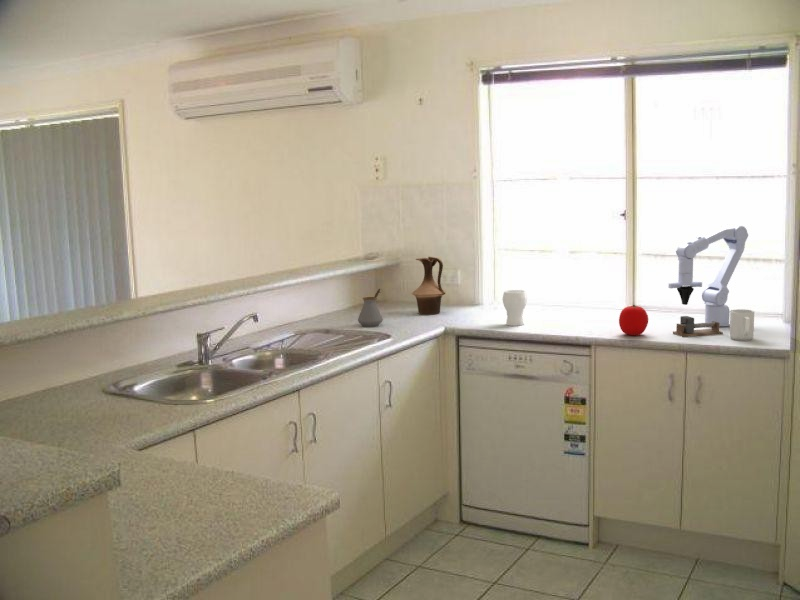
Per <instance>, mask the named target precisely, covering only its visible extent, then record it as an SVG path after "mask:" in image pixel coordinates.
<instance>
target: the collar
mask: <svg viewBox="0 0 800 600" xmlns="http://www.w3.org/2000/svg"><path fill="white" fill-rule="evenodd" d="M679 324H682V325H683V324H686V329H684V332H685V333H694V330H695V328H694V324H695V317H692V316H689V315H683V316H680V323H679Z"/></svg>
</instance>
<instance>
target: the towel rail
mask: <svg viewBox="0 0 800 600" xmlns="http://www.w3.org/2000/svg"><path fill="white" fill-rule="evenodd" d="M698 328H704V329H698ZM684 329H686V324H683V325H682V324H680V323H676V331H672V334H673V335H676V336H679V337H681V336H682V338H687V337H688V336H690V337H704V336H713V335H714V336H715V335H723V334H724V332H723V331H721V330H720V326H719V322H715V321H712V322H711V323H705V322H698V323H694V333H685V332H684Z"/></svg>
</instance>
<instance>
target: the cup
mask: <svg viewBox="0 0 800 600" xmlns="http://www.w3.org/2000/svg"><path fill="white" fill-rule="evenodd" d="M527 300H528V297H527V292H526V290H522V289H508V290H505V291H503V295H502V303H503V306H504V309H505V311H506V316H507V317H506V324H505V325H506V326H510V327H511V326H512V327H513V326H514V327H516V326H517V327H518V326H519V327H520V326H523V325H524V318H523V316H524V315H523V314H524V309H525V307H526V305H527V303H528V302H527Z"/></svg>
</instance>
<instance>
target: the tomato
mask: <svg viewBox="0 0 800 600" xmlns="http://www.w3.org/2000/svg"><path fill="white" fill-rule="evenodd" d="M648 324H649V315H648V313H647V310H645V309H644V308H643V307H641V306H638V305H635V304H632V305H628V306H627V307H624V308H623V309H621V311H620V313H619V317H618V325H619V328H620V330H621V331H622V333H623V334H626V335H628V336H640V335H642V334H643V333H644V332H645V331H646V329H647V326H648Z"/></svg>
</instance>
